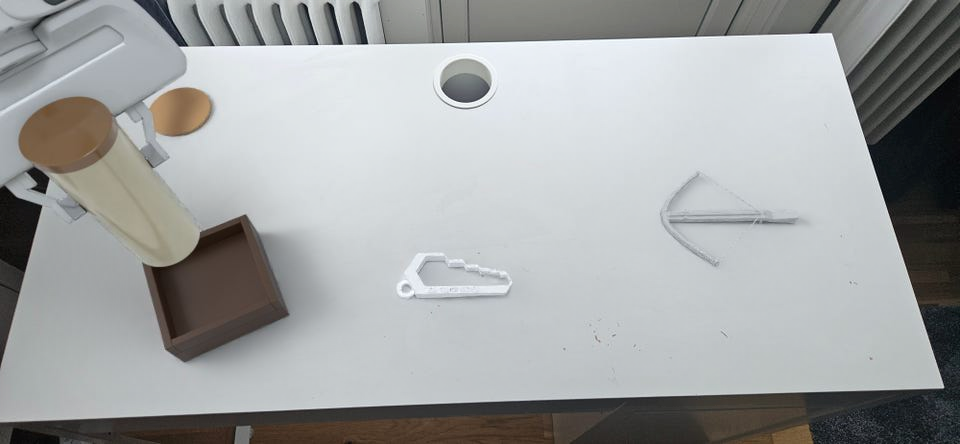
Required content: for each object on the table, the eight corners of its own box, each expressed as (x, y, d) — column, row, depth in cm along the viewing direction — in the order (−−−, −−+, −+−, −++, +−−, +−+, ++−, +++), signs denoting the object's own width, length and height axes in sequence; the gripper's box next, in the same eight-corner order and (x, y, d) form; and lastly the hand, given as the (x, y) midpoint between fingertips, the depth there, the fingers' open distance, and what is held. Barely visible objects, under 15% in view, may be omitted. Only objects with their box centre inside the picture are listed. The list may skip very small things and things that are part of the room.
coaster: (156, 144, 76) (155, 143, 76) (143, 101, 79) (141, 99, 79) (218, 122, 78) (217, 121, 78) (202, 81, 81) (201, 79, 81)
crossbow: (667, 268, 70) (671, 261, 68) (652, 178, 76) (656, 169, 74) (806, 266, 69) (814, 259, 67) (780, 176, 75) (786, 166, 73)
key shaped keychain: (510, 257, 69) (511, 251, 68) (512, 297, 67) (513, 291, 65) (398, 259, 69) (397, 252, 67) (396, 299, 66) (395, 293, 65)
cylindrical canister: (140, 278, 52) (23, 178, 38) (127, 225, 55) (12, 113, 41) (208, 251, 54) (119, 145, 40) (192, 200, 56) (102, 84, 42)
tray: (184, 362, 63) (164, 349, 59) (158, 272, 67) (139, 255, 64) (289, 315, 65) (278, 300, 61) (258, 232, 70) (245, 213, 66)
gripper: (-214, 110, 34) (-18, 284, 40) (109, -51, 42) (237, 114, 47) (-171, 117, 40) (-3, 270, 45) (109, -27, 47) (224, 119, 53)
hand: (122, 189), depth 46 cm, fingers closed on cylindrical canister, 6 cm apart
